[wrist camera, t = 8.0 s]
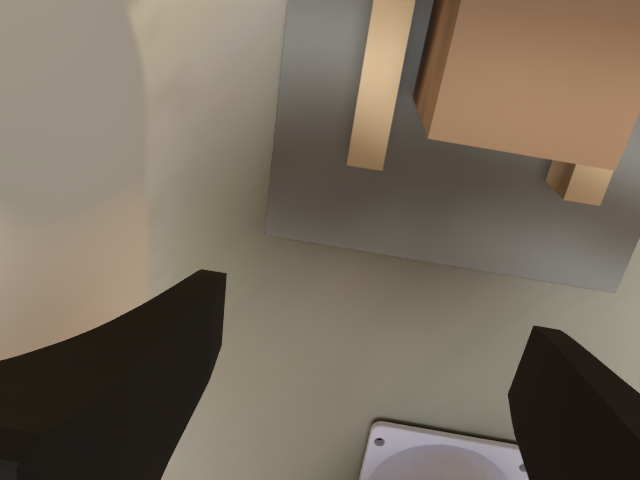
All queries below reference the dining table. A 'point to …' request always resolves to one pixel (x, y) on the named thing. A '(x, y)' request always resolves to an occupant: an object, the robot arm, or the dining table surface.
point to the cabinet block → (533, 77)
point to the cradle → (426, 164)
